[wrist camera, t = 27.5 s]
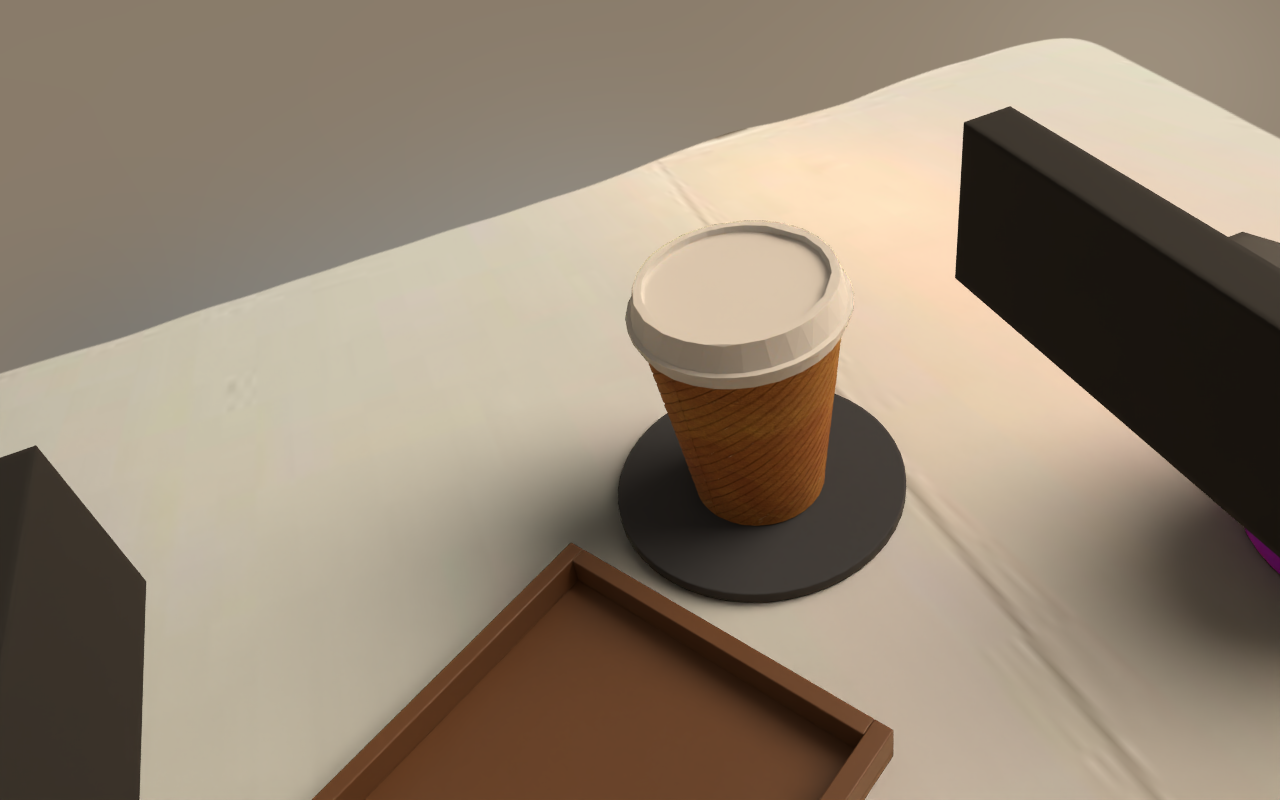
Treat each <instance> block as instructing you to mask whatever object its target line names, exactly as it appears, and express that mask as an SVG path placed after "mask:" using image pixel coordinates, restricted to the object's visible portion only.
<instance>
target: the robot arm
mask: <svg viewBox="0 0 1280 800" xmlns="http://www.w3.org/2000/svg"><path fill="white" fill-rule="evenodd" d="M955 278H956V279H957V280H958V281H959V282H961V283H962V284H963V285H964V286H965V287H966V288H968V289H969V290H970V291H971V292H972V293H973V294H974V295H976V296H977V297H978V298H979V299H980V300H981V301H983V302H984V303H985V304H986V305H987V306H988V307H990V308H991V309H992V310H993V311H994V312H995V313H996V314H998V315H999V316H1000V317H1001V318H1002V319H1003V320H1005V321H1006V322H1007V323H1008V324H1009V325H1010V326H1012V327H1013V328H1014V329H1015V330H1016V331H1017V332H1019V333H1020V334H1021V335H1022V336H1023V337H1024V338H1025V339H1027V340H1028V341H1029V342H1030V343H1031V344H1032V345H1034V346H1035V347H1036V348H1037V349H1038V350H1039V351H1041V352H1042V353H1043V354H1044V355H1045V356H1046V357H1047V358H1049V359H1050V360H1051V361H1052V362H1053V363H1054V364H1056V365H1057V366H1058V367H1059V368H1060V369H1061V370H1063V371H1064V372H1065V373H1066V374H1067V375H1068V376H1069V377H1071V378H1072V379H1073V380H1074V381H1075V382H1076V383H1078V384H1079V385H1080V386H1081V387H1082V388H1083V389H1085V390H1086V391H1087V392H1088V393H1089V394H1090V395H1092V396H1093V397H1094V398H1095V399H1096V400H1097V401H1098V402H1100V403H1101V404H1102V405H1103V406H1104V407H1105V408H1107V409H1108V410H1109V411H1110V412H1111V413H1112V414H1114V415H1115V416H1116V417H1117V418H1118V419H1119V420H1120V421H1122V422H1123V423H1124V424H1125V425H1126V426H1127V427H1129V428H1130V429H1131V430H1132V431H1133V432H1134V433H1136V434H1137V435H1138V436H1139V437H1140V438H1141V439H1142V440H1144V441H1145V442H1146V443H1147V444H1148V445H1149V446H1151V447H1152V448H1153V449H1154V450H1155V451H1156V452H1158V453H1159V454H1160V455H1161V456H1162V457H1163V458H1165V459H1166V460H1167V461H1168V462H1169V463H1170V464H1171V465H1173V466H1174V467H1175V468H1176V469H1177V470H1178V471H1180V472H1181V473H1182V474H1183V475H1184V476H1185V477H1187V478H1188V479H1189V480H1190V481H1191V482H1192V483H1193V484H1195V485H1196V486H1197V487H1198V488H1199V489H1200V490H1202V491H1203V492H1204V493H1205V494H1206V495H1207V496H1209V497H1210V498H1211V499H1212V500H1213V501H1214V502H1216V503H1217V504H1218V505H1219V506H1220V507H1221V508H1222V509H1224V510H1225V511H1226V512H1227V513H1228V514H1229V515H1231V516H1232V517H1233V518H1234V519H1235V520H1236V521H1238V522H1239V523H1240V524H1241V525H1242V526H1243V527H1244V528H1246V529H1247V530H1248V531H1249V532H1250V533H1251V534H1253V535H1254V536H1255V537H1256V538H1257V539H1258V540H1260V541H1261V542H1262V543H1263V544H1264V545H1265V546H1266V547H1268V548H1269V549H1270V550H1271V551H1272V552H1273V553H1275V554H1276V555H1277V556H1278V557H1279V558H1280V243H1278V242H1275V241H1271V240H1268V239H1265V238H1261V237H1258V236H1255V235H1251V234H1248V233H1245V232H1241V233H1238V234H1235V235H1233V236H1230V237H1227V236H1225V235H1224V234H1222V233H1220V232H1219V231H1217V230H1215V229H1214V228H1212V227H1210V226H1209V225H1207V224H1205V223H1204V222H1202V221H1200V220H1199V219H1197V218H1195V217H1194V216H1192V215H1190V214H1189V213H1187V212H1185V211H1184V210H1182V209H1180V208H1179V207H1177V206H1175V205H1174V204H1172V203H1170V202H1169V201H1167V200H1165V199H1164V198H1162V197H1160V196H1159V195H1157V194H1155V193H1154V192H1152V191H1150V190H1149V189H1147V188H1145V187H1144V186H1142V185H1140V184H1139V183H1137V182H1135V181H1134V180H1132V179H1130V178H1129V177H1127V176H1125V175H1124V174H1122V173H1120V172H1119V171H1117V170H1115V169H1114V168H1112V167H1110V166H1109V165H1107V164H1105V163H1104V162H1102V161H1100V160H1099V159H1097V158H1095V157H1094V156H1092V155H1090V154H1089V153H1087V152H1085V151H1084V150H1082V149H1080V148H1079V147H1077V146H1075V145H1074V144H1072V143H1070V142H1069V141H1067V140H1065V139H1064V138H1062V137H1060V136H1059V135H1057V134H1055V133H1054V132H1052V131H1050V130H1049V129H1047V128H1045V127H1044V126H1042V125H1040V124H1039V123H1037V122H1035V121H1034V120H1032V119H1030V118H1029V117H1027V116H1025V115H1024V114H1022V113H1020V112H1019V111H1017V110H1015V109H1014V108H1012V107H1007V108H1004V109H1001V110H998V111H995V112H993V113H990V114H987V115H984V116H981V117H978V118H975V119H972V120H970V121H967V122H964V131H963V149H962V167H961V185H960V203H959V220H958V238H957V256H956V274H955ZM145 601H146V581H145V579H144V578H143V577H142V576H141V575H140V573H139V572H138V571H137V570H136V568H135V567H134V566H133V565H132V563H131V562H130V561H129V560H128V558H127V557H126V556H125V555H124V554H123V552H122V551H121V550H120V549H119V547H118V546H117V545H116V544H115V542H114V541H113V540H112V539H111V537H110V536H109V535H108V534H107V533H106V531H105V530H104V529H103V528H102V526H101V525H100V524H99V523H98V521H97V520H96V519H95V518H94V516H93V515H92V514H91V513H90V511H89V510H88V509H87V508H86V507H85V505H84V504H83V503H82V502H81V500H80V499H79V498H78V497H77V495H76V494H75V493H74V492H73V490H72V489H71V488H70V487H69V486H68V484H67V483H66V482H65V481H64V479H63V478H62V477H61V476H60V474H59V473H58V472H57V471H56V469H55V468H54V467H53V466H52V465H51V463H50V462H49V461H48V460H47V458H46V457H45V456H44V455H43V453H42V452H41V451H40V450H39V448H38V447H37V446H33V447H30V448H27V449H24V450H21V451H19V452H16V453H13V454H10V455H7V456H4V457H1V458H0V800H139V795H140V763H141V731H142V698H143V666H144V633H145Z"/></svg>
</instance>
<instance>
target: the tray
mask: <svg viewBox="0 0 1280 800" xmlns="http://www.w3.org/2000/svg"><path fill="white" fill-rule="evenodd" d="M892 757H893V730H892V729H890V728H889V727H887V726H885V725H884V724H882V723H880V722H878V721H877V720H874V719H873V718H871V717H870V716H868V715H866V714H864V713H863V712H861V711H859V710H858V709H856V708H854V707H852V706H851V705H849V704H847V703H846V702H844V701H842V700H840V699H839V698H837V697H835V696H834V695H832V694H830V693H828V692H827V691H825V690H823V689H822V688H820V687H818V686H817V685H815V684H813V683H811V682H810V681H808V680H806V679H805V678H803V677H801V676H799V675H798V674H796V673H794V672H793V671H791V670H789V669H787V668H786V667H784V666H782V665H781V664H779V663H777V662H775V661H774V660H772V659H770V658H769V657H767V656H765V655H763V654H762V653H760V652H758V651H757V650H755V649H753V648H751V647H750V646H748V645H746V644H745V643H743V642H741V641H739V640H738V639H736V638H734V637H733V636H731V635H729V634H727V633H726V632H724V631H722V630H721V629H719V628H717V627H715V626H714V625H712V624H710V623H709V622H707V621H705V620H703V619H702V618H700V617H698V616H697V615H695V614H693V613H691V612H690V611H688V610H686V609H685V608H683V607H681V606H679V605H678V604H676V603H674V602H673V601H671V600H669V599H667V598H666V597H664V596H662V595H661V594H659V593H657V592H655V591H654V590H652V589H650V588H649V587H647V586H645V585H643V584H642V583H640V582H638V581H637V580H635V579H633V578H631V577H630V576H628V575H626V574H625V573H623V572H621V571H619V570H618V569H616V568H614V567H613V566H611V565H609V564H607V563H606V562H604V561H602V560H601V559H599V558H597V557H595V556H594V555H592V554H590V553H589V552H587V551H585V550H583V549H581V548H580V547H578V546H576V545H575V544H573V543H570V544H569V545H568V546H567V547H566V548H565V549H564V550H563V551H562V552H561V553H560V554H559V555H558V556H557V557H556V558H555V559H554V560H553V561H552V562H551V563H550V564H549V565H548V566H547V567H546V568H545V569H544V570H543V571H542V572H541V573H540V574H539V575H538V576H537V577H536V578H535V579H534V580H533V581H532V582H531V583H530V584H529V585H528V586H527V587H526V588H525V589H524V590H523V591H522V592H521V593H520V594H519V595H518V596H517V597H516V598H515V599H514V600H513V601H512V602H511V603H510V604H509V605H507V606H506V607H505V608H504V609H503V610H502V611H501V612H500V613H499V614H498V615H497V616H496V617H495V618H494V619H493V620H492V621H491V622H490V623H489V624H488V625H487V626H486V627H485V628H484V629H483V630H482V631H481V632H480V633H479V634H478V635H477V636H476V637H475V638H474V639H473V640H472V641H471V642H470V643H469V644H468V645H467V646H466V647H465V648H464V649H463V650H462V651H461V652H460V653H459V654H458V655H457V656H456V657H455V658H454V659H453V660H452V661H451V662H450V663H449V664H448V665H447V666H446V667H445V668H444V669H443V670H442V671H441V672H440V673H439V674H438V675H437V676H436V677H435V678H434V679H433V680H432V681H431V682H430V683H429V684H428V685H427V686H426V687H425V688H424V689H423V690H422V691H421V692H420V693H419V694H418V695H417V696H416V697H415V698H414V699H413V700H412V701H411V702H410V703H409V704H408V705H407V706H406V707H405V708H404V709H403V710H402V711H401V712H400V713H399V714H398V715H397V716H396V717H395V718H394V719H393V720H392V721H391V722H390V723H389V724H388V725H387V726H386V727H385V728H384V729H383V730H382V731H380V732H379V733H378V734H377V735H376V736H375V737H374V738H373V739H372V740H371V741H370V742H369V743H368V744H367V745H366V746H365V747H364V748H363V749H362V750H361V751H360V752H359V753H358V754H357V755H356V756H355V757H354V758H353V759H352V760H351V761H350V762H349V763H348V764H347V765H346V766H345V767H344V768H343V769H342V770H341V771H340V772H339V773H338V774H337V775H336V776H335V777H334V778H333V779H332V780H331V781H330V782H329V783H328V784H327V785H326V786H325V787H324V788H323V789H322V790H321V791H320V792H319V793H318V794H317V795H316V796H315V797H314V798H313V799H312V800H864V799H865V798H866V796H867V795H868V793H869V792H870V790H871V789H872V787H873V786H874V784H875V782H876V781H877V779H878V778H879V776H880V775H881V773H882V772H883V770H884V769H885V767H886V766H887V764H888V763H889V761H890V760H891V758H892Z"/></svg>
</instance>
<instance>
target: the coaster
mask: <svg viewBox="0 0 1280 800" xmlns="http://www.w3.org/2000/svg"><path fill="white" fill-rule="evenodd" d="M671 423H672V422H671V421H670V418H669V416H668V413H667V414H666V415H664V416H663V417H661V418H660V419H659V420H658V421H657V422H656V423H654V424H653V425H652V426H651V427H650V428H649V429H648V430H647V431H646V432H645V433H644V434H643V435H642V436H641V438H640V439H639V440H638V442H637V443H636V444H635V446H634V447H633V449H632V450H631V452H630V454H629V456H628V458H627V460H626V462H625V464H624V467H623V470H622V473H621V476H620V481H619V487H618V505H619V510H620V516H621V520H622V523H623V526H624V529H625V531H626V534H627V537H628V538H629V540H630V542H631V543H632V545H633V547H634V549H635V550H636V551H637V552H638V554H639V555H640V556H641V557H642V558H643V560H644V561H645V562H646V563H647V564H649V565H650V566H651V567H652V568H653V569H654V570H655V571H656V572H658V573H659V574H661V575H662V576H664V577H665V578H667V579H668V580H670V581H671V582H673V583H675V584H677V585H679V586H681V587H683V588H685V589H688V590H690V591H693V592H696V593H699V594H702V595H705V596H709V597H713V598H718V599H723V600H730V601H740V602H770V601H778V600H787V599H791V598H795V597H800V596H804V595H808V594H811V593H814V592H817V591H820V590H822V589H825V588H828V587H830V586H832V585H834V584H836V583H838V582H840V581H842V580H844V579H846V578H847V577H849V576H850V575H852V574H853V573H855V572H857V571H858V570H860V569H861V568H862V567H863V566H865V565H866V564H867V563H868V562H869V561H870V560H872V559H873V558H874V557H875V556H876V555H877V554H878V552H879V551H880V550H881V549H882V548H883V547H884V546H885V545H886V543H887V542H888V540H889V539H890V537H891V536H892V534H893V533H894V531H895V529H896V527H897V525H898V522H899V520H900V518H901V516H902V512H903V508H904V504H905V495H906V475H905V467H904V463H903V460H902V457H901V453H900V451H899V449H898V447H897V445H896V443H895V441H894V440H893V438H892V437H891V435H890V434H889V433H888V431H887V430H886V429H885V427H884V426H883V425H882V424H881V423H880V422H879V421H878V420H877V419H876V418H875V417H873V416H872V415H871V414H870V413H868V412H867V411H866V410H864V409H863V408H862V407H860V406H858V405H857V404H855V403H853V402H851V401H850V400H848V399H845V398H843V397H841V396H839V395H837V394H834V400H833V409H832V418H831V427H830V433H829V442H828V450H827V460H826V468H825V479H824V484H823V487H822V490H821V492H820V494H819V496H818V497H817V499H816V500H815V501H814V503H813V504H812V505H810V506H809V507H808V508H807V509H806V510H805V511H803V512H802V513H800V514H798V515H797V516H795V517H793V518H791V519H788V520H786V521H783V522H780V523H775V524H770V525H760V526H751V525H741V524H737V523H733V522H730V521H728V520H725V519H723V518H721V517H718V516H717V515H715V514H714V513H713V512H711V511H710V510H709V509H708V508H707V507H706V506H705V505H704V504H703V502H702V501H701V499H700V497H699V495H698V492H697V489H696V487H695V483H694V481H693V479H692V475H691V473H690V471H689V466H688V465H687V463H686V460H685V457H684V455H683V452H682V449H681V447H680V444H679V442H678V441H679V440H678V439H677V437H676V434H675V431H674V429H673V426H672V424H671Z"/></svg>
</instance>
